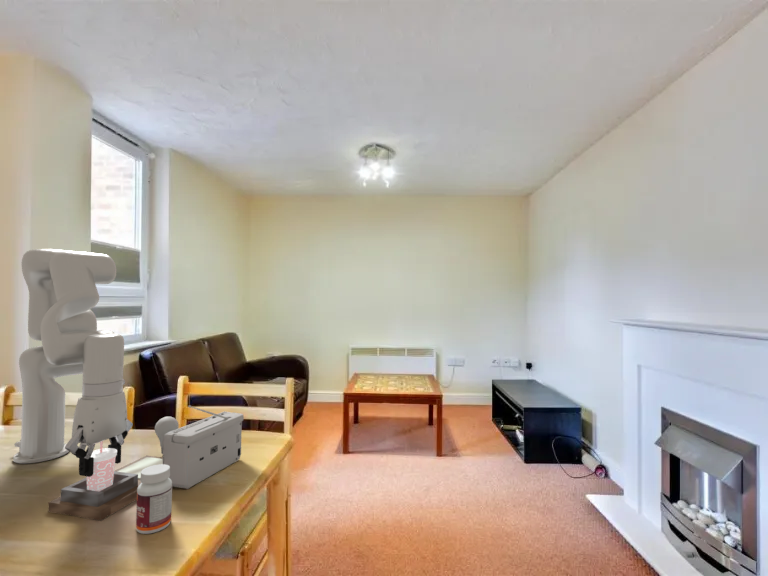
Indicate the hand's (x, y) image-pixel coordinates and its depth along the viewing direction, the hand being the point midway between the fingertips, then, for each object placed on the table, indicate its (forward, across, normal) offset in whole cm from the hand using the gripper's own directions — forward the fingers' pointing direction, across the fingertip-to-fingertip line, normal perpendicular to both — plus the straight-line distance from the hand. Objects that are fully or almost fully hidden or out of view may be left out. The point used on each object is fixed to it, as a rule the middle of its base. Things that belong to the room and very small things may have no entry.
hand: (100, 468), depth 89 cm
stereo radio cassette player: (+8, -19, +13) cm, 24 cm away
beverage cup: (+6, 0, 0) cm, 6 cm away
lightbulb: (+8, -26, -6) cm, 28 cm away
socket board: (+7, -7, 0) cm, 10 cm away
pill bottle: (+7, +5, +20) cm, 21 cm away
